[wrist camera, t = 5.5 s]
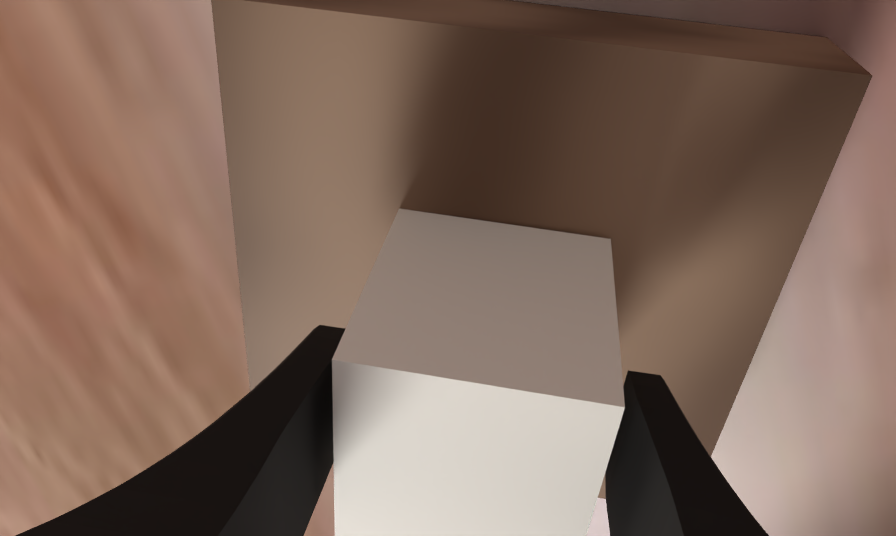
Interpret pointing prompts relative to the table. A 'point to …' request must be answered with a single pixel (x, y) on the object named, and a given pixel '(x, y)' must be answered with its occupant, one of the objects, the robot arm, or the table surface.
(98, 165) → the table surface
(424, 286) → the cream block
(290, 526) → the robot arm
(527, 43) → the walnut block
